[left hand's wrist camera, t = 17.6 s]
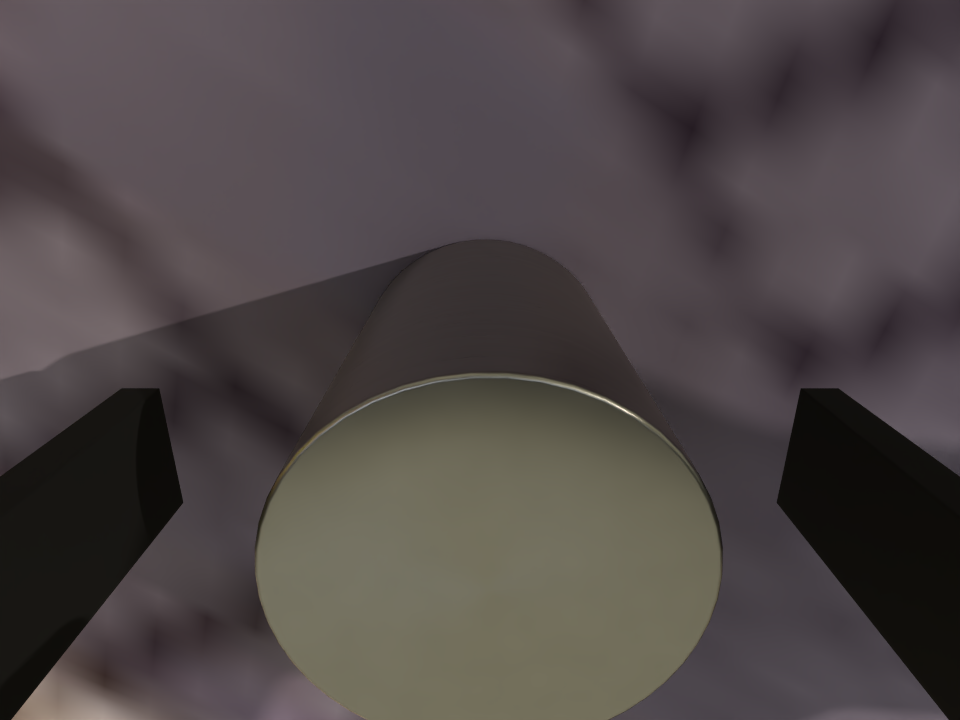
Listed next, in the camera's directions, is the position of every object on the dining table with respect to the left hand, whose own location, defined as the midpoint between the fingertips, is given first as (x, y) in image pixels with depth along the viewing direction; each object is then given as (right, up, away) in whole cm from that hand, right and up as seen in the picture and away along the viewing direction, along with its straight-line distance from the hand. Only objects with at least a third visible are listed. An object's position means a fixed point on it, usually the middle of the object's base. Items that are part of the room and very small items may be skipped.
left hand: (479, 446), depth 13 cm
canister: (0, +2, +4) cm, 5 cm away
